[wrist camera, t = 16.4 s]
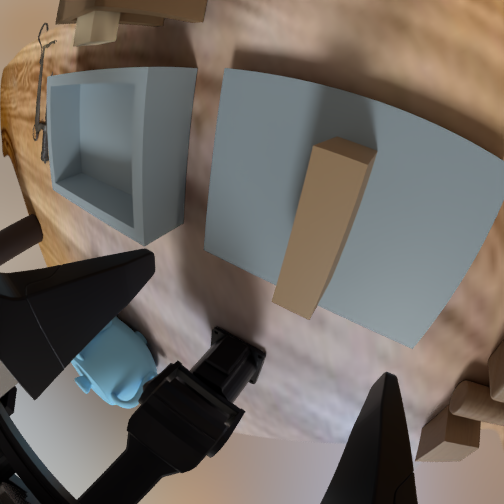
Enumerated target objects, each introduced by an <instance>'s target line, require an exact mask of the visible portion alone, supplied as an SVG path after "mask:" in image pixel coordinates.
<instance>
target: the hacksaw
mask: <svg viewBox="0 0 504 504" xmlns="http://www.w3.org/2000/svg"><path fill="white" fill-rule="evenodd" d="M44 25H46V30H47V31H48V29H49V28H48V23H44V24H43V26H42V27H41V30H40V32H39V36H40V35H41V31H42V29H43V27H44ZM47 31H46V32H47ZM39 36H38V40H39V43H40V44H41V42H40V39H39ZM56 42H57V40H56ZM52 43H54V44H55V40H54V41H52V42H50V43H49V44H47V45H44V46H43V53H42V52H41V57H42V59H40V64H41V67H40V75H39V83H38V84H39V85H38V91H37V102H36V103H37V105H36V117H35V125H34V126H35V129H36V139H35V138H34V135H33V138H34V141H37V139H38V134H39V131H40V129H42V130H43V142H42V152H41V160H42V161H44V164H45V163H46V161H49V157H48V134H47V104H46V117H45V120H46V122H45V124H43V123H40V124H39V115H40V95H41V81H42V70H43V58H44V51H45V46H46V48H48V47H49V46H50V45H51V44H52ZM41 48H42V46H41ZM52 75H53V72H52V74H51V76H52ZM42 122H43V121H42ZM33 130H34V128H33Z"/></svg>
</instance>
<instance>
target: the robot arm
mask: <svg viewBox="0 0 504 504" xmlns="http://www.w3.org/2000/svg"><path fill="white" fill-rule="evenodd" d="M154 273H155V256H154V253H153V252H151V251H149V250H148V249H139V250H134V251H128V252H123V253H118V254H113V255H107V256H102V257H97V258H92V259H87V260H82V261H77V262H72V263H67V264H63V265H57V266H53V267H47V268H42V269H35V270H28V271H21V272H13V273H0V504H137V503H138V502H139V501H140V500H141V499H142V498H143V497H144V496H145V495H146V494H147V493H148V492H149V491H150V490H151V489H152V488H153V487H154V486H155V484H157V482H158V481H159V480H160V479H161V478H162V477H165V476H169V475H172V474H176V473H179V472H180V473H184V472H187V471H190V470H192V469H193V468H195V467H196V466H197V465H198V464H199V463H200V462H201V461H202V460H203V459H204V457H205V456H206V455H207V456H209V457H210V458H211V457H213V456H214V455H215V454H216V453H217V452H218V451H219V450H220V449H221V448H222V447H223V445H224V444H225V443H226V442H227V440H228V439H229V437H230V436H231V434H232V433H233V431H234V429H235V428H236V426H237V424H238V423H239V421H240V419H241V418H242V416H243V415H244V413H245V411H244V410H243V409H240V408H238V407H237V406H236V405H234V404H233V402H234V401H235V400H236V398H237V397H238V395H239V394H240V393H241V391H242V390H243V389H244V387H245V386H246V384H247V383H248V382H250V383H252V384H255V383H256V381H257V379H258V376H259V374H260V371H261V368H262V365H263V363H264V360H265V357H266V355H265V353H264V352H262V351H260V350H258V349H256V348H254V347H253V346H251V345H249V344H247V343H245V342H243V341H242V340H240V339H238V338H236V337H234V336H233V335H231V334H229V333H227V332H226V331H224V330H222V329H220V328H219V327H214V328H213V330H212V338H211V348H210V349H209V350H208V351H207V352H206V353H205V354H204V355H203V356H202V358H201V359H200V360H199V361H198V362H197V363H196V364H195V365H194V366H193V367H192V369H191V370H190V371H189V370H188V369H187V368H185V367H184V366H183V365H182V363H181V362H179V361H177V362H176V363H175V364H172V363H170V364H169V365H168V366H167V367H166V368H165V369H164V370H163V371H162V372H161V373H160V374H158V375H157V376H155V377H154V378H152V379H151V380H149V381H148V382H146V383H145V384H144V385H143V386H142V387H143V392H142V394H141V397H140V398H139V400H138V402H139V403H140V404H141V406H140V407H139V408H138V409H137V410H136V411H135V413H134V414H133V415H132V416H131V418H130V419H129V422H128V427H127V431H128V439H127V447H126V450H125V451H124V452H123V453H122V454H121V455H120V456H119V457H118V458H117V459H116V460H115V461H114V462H113V463H112V464H111V466H110V467H109V468H108V469H107V470H106V471H105V472H104V473H103V474H102V475H101V476H100V477H99V478H98V479H97V480H96V481H95V482H94V483H93V484H92V485H91V486H90V487H89V488H88V489H87V490H86V491H85V492H84V493H83V494H82V495H81V496H80V497H79V498H78V499H77V500H76V499H75V498H74V497H73V496H72V495H71V494H70V493H69V492H68V491H67V490H66V489H65V488H64V487H63V485H62V484H61V483H60V482H59V481H58V480H57V479H56V478H55V477H54V476H53V474H52V473H51V472H50V471H49V470H48V469H47V467H46V466H45V465H44V464H43V463H42V461H41V460H40V459H39V458H38V456H37V455H36V454H35V452H34V451H33V450H32V449H31V447H30V446H29V445H28V443H27V442H26V440H25V439H24V438H23V436H22V435H21V434H20V432H19V431H18V429H17V428H16V426H15V425H14V423H13V421H12V420H11V418H10V417H9V416H10V415H11V414H13V413H14V407H15V399H16V392H17V388H16V386H15V385H16V384H17V383H19V384H20V385H21V386H22V387H23V388H24V389H25V391H26V392H27V393H28V394H29V395H30V396H31V397H32V398H33V399H34V400H36V399H37V398H38V397H39V396H40V395H41V394H42V392H43V391H44V390H45V389H46V388H47V387H48V386H49V385H50V384H51V383H52V382H53V380H54V379H55V378H56V377H57V376H58V375H59V374H60V373H61V372H62V371H63V370H64V368H65V367H66V366H67V365H68V364H69V363H70V362H71V361H72V360H73V359H74V358H75V357H76V356H77V355H78V354H79V353H80V352H81V351H82V350H83V349H84V348H85V347H86V346H87V345H88V344H89V343H90V342H91V341H92V340H93V338H94V337H95V336H96V335H97V334H98V333H99V332H100V331H101V330H102V329H103V328H104V327H105V326H106V325H107V324H108V323H109V322H110V321H111V320H112V319H114V318H115V317H116V316H117V315H118V314H119V313H120V312H121V311H122V310H123V309H124V308H125V307H126V306H127V305H128V304H129V303H130V302H131V301H132V299H133V298H134V297H135V296H136V295H137V294H138V292H139V291H140V290H141V289H142V288H143V287H144V285H145V284H146V283H147V282H148V281H149V280H150V278H151V277H152V276H153V275H154ZM413 471H414V469H413V461H412V454H411V447H410V440H409V434H408V428H407V423H406V417H405V412H404V407H403V402H402V397H401V393H400V388H399V384H398V379H397V377H396V376H395V375H393V374H391V373H389V372H385V373H383V375H382V376H381V377H380V378H379V379H378V380H377V381H376V382H375V383H374V384H373V386H372V387H371V389H370V391H369V394H368V396H367V398H366V401H365V403H364V405H363V407H362V409H361V412H360V414H359V416H358V418H357V420H356V422H355V424H354V426H353V429H352V431H351V434H350V436H349V439H348V442H347V444H346V447H345V449H344V452H343V454H342V457H341V459H340V462H339V464H338V467H337V469H336V472H335V474H334V476H333V478H332V480H331V483H330V485H329V487H328V489H327V492H326V493H325V495H324V497H323V499H322V501H321V503H320V504H418V502H417V495H416V486H415V477H414V473H413ZM15 473H17V475H18V476H19V477H20V478H19V477H18V476H16V475H15Z"/></svg>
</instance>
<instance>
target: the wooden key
mask: <svg viewBox="0 0 504 504" xmlns="http://www.w3.org/2000/svg"><path fill="white" fill-rule="evenodd" d="M120 13H121V12H112V11H92V12H89V13H87V14H85V15H82V16H80V17H78V18H77V24H76V30H75V37H74V45H73V46H87V45H100V44H105V43H109V42H115V41H116V38H117V31H118V24H119V18H120Z"/></svg>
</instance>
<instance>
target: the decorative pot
mask: <svg viewBox="0 0 504 504" xmlns="http://www.w3.org/2000/svg"><path fill="white" fill-rule="evenodd" d="M146 343H147V341H146V339H145V337H144V336H143V335H142V334H141V333H140V332H138V331H136V332H134V331H133V330H132V329H130V328H129V327H128V326H127V325H126V324H125V323H123V322H122V321H121V320H119V319H118V317H117V316H116V317H115V318H114V319H112V320H111V321H110V322H109V323H108V324H107V325H106V326H105V327H104V328H103V329H102V330H101V331H100V332H99V333H98V334H97V335H96V336H95V337H94V338H93V340H92V341H91V342H90V343H89V344H88V345H87V346H86V347H85V348H84V349H83V350H82V351H81V352H80V353H79V354H78V355H77V356H76V357H75V358H74V359H73V360H72V361H71V363H72V364H73V366H74V367H75V369H76V370H77V372H78V373H79V375H80V377H77V378H75V382H76V383H77V385H78V386H79V387H80V388H81V389H82V390H83V391H84V392H85V393H86V394H88V392H89V391H90V388H92V389H93V390H94V391H95V392H96V393H97V394H98V395H99V396H100V397H101V398H102V399H103V400H104V401H106V402H107V403H108V404H110V405H116V404H117V405H118V406H120V407H123V408H133V407H135V406H137V405H138V404H139V402H138V400H139V398H140V397H141V394H142V392H143V387H142V386H143V385H144V384H145V383H146V382H148V381H149V380H151V379H152V378H154V377H155V376H157V375H158V374H157V369H156V365H155V362H154V359H153V357H152V355H151V353H150V351H149V349H148V347H147V346H146Z"/></svg>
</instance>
